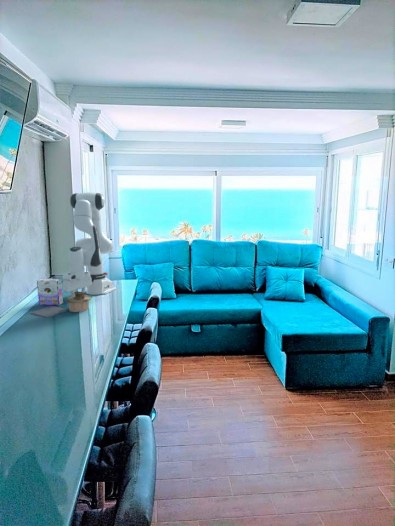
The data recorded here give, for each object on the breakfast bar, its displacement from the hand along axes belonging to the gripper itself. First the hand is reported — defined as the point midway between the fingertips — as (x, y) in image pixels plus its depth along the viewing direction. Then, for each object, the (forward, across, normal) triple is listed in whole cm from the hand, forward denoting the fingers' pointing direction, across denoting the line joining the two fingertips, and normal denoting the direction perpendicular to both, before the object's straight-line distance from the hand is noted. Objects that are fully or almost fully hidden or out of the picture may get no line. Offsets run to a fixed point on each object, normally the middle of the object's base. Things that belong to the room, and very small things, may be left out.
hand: (78, 296), depth 225 cm
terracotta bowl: (+8, 0, 0) cm, 8 cm away
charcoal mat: (+8, +13, -11) cm, 19 cm away
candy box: (+9, +2, -23) cm, 25 cm away
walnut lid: (+2, 0, 0) cm, 2 cm away
